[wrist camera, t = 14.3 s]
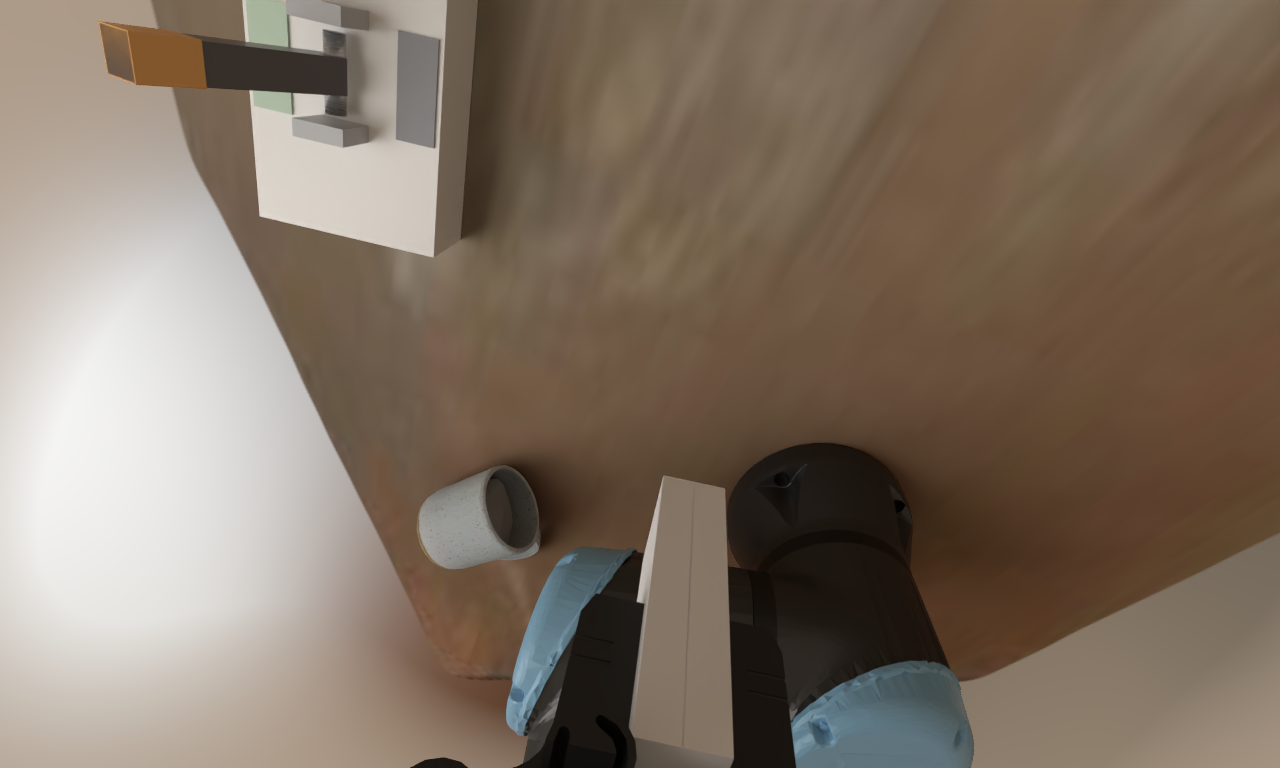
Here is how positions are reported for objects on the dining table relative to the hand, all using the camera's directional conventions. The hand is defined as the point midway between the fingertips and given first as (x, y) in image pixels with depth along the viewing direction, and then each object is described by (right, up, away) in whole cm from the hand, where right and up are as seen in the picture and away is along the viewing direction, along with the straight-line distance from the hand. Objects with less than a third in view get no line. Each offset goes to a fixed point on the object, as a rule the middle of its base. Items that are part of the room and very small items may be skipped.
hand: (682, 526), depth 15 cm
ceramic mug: (-14, -7, +42) cm, 45 cm away
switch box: (-18, +24, +26) cm, 40 cm away
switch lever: (-19, +22, +21) cm, 35 cm away
